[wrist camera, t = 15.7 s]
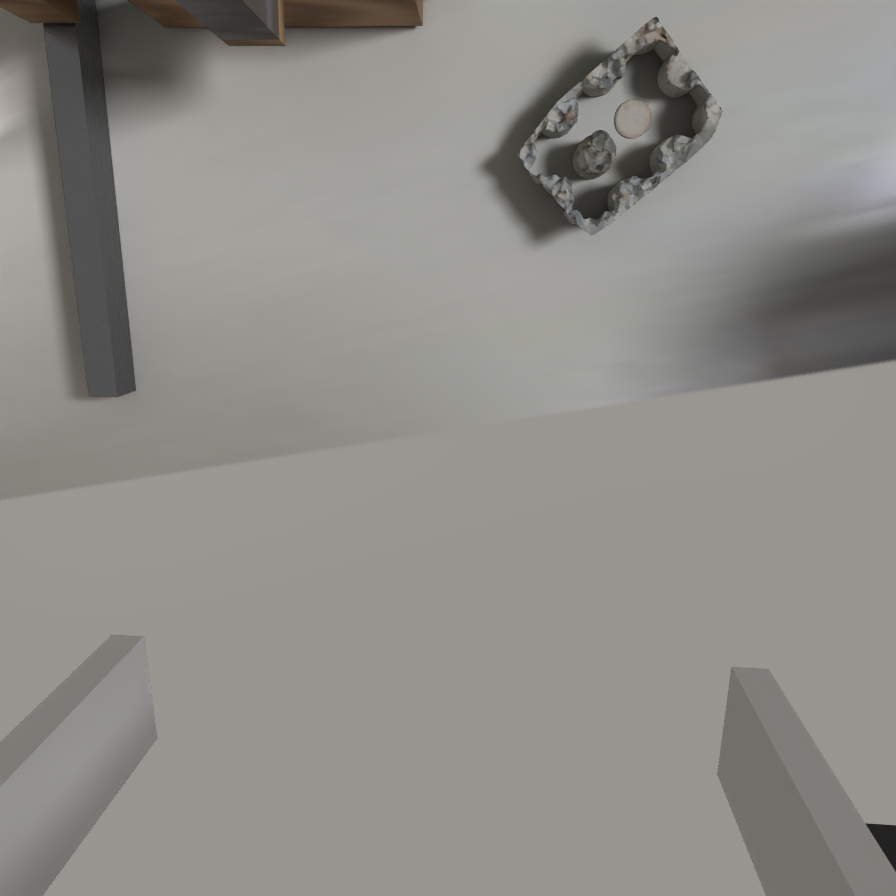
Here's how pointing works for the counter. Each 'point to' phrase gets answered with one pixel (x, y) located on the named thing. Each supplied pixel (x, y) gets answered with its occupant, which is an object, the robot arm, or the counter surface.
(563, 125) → the egg carton
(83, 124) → the rail
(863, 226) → the counter surface
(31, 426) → the counter surface
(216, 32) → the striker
